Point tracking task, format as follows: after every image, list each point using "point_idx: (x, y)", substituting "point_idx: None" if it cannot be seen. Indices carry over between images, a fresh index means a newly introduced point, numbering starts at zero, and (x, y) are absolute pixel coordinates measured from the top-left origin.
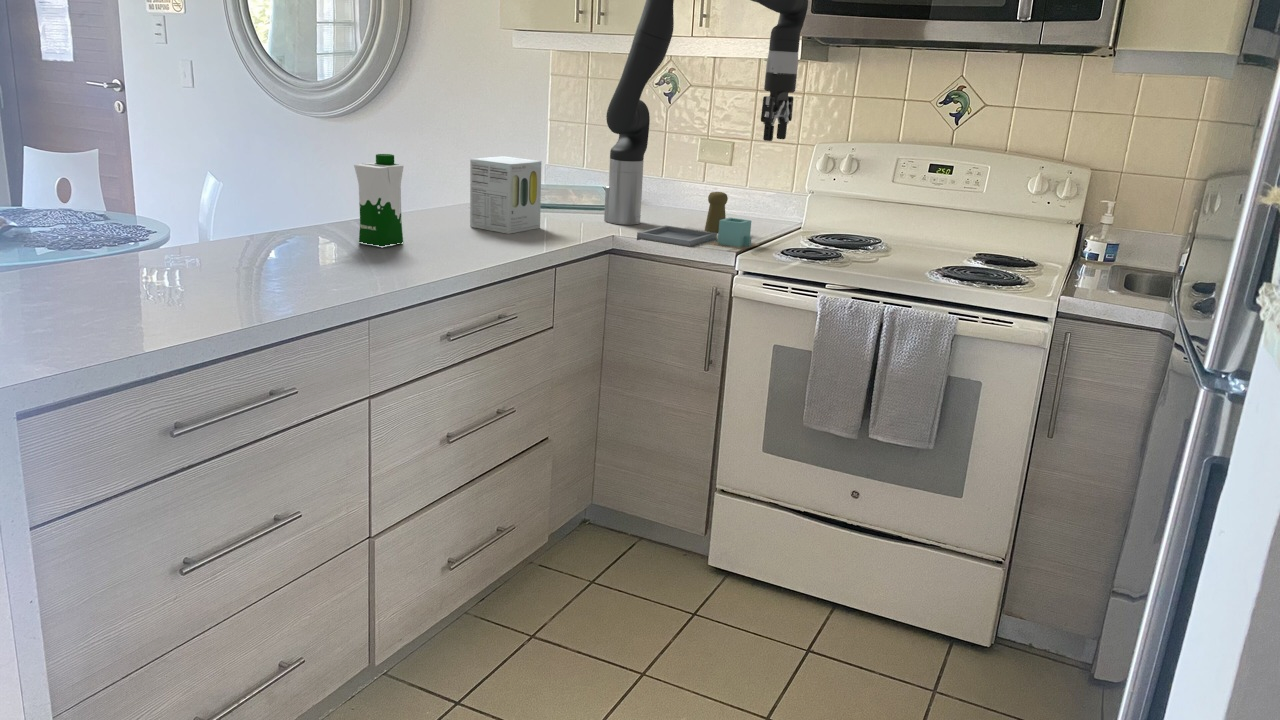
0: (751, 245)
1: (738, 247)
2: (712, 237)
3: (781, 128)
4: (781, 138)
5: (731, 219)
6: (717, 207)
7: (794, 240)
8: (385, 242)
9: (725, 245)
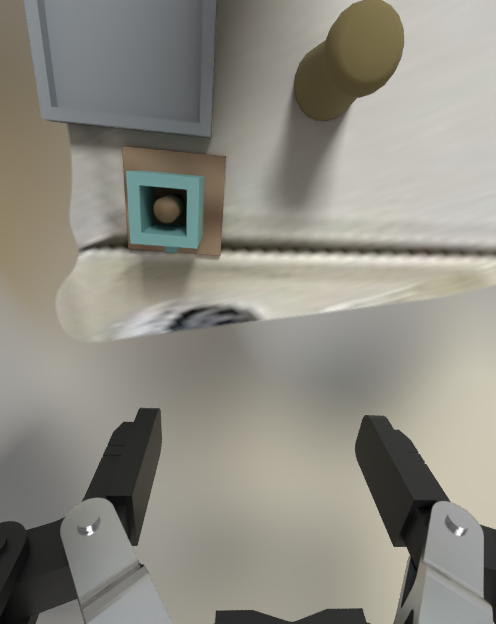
0: None
1: None
2: (185, 134)
3: (387, 490)
4: (358, 440)
5: (186, 189)
6: (324, 73)
7: (347, 290)
8: None
9: None
